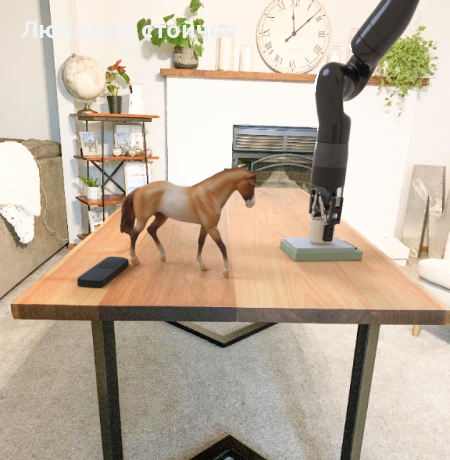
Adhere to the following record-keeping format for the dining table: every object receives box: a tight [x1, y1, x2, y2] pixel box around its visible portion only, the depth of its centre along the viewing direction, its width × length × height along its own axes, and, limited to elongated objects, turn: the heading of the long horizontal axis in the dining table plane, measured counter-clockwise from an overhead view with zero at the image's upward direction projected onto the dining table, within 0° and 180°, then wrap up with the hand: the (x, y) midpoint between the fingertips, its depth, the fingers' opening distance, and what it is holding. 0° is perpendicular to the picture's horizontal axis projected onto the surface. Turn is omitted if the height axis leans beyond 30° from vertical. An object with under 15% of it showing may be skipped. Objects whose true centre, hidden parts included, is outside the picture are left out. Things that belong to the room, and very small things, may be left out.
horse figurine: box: [119, 166, 261, 279], centre depth 87 cm, size 31×8×21 cm, turn 69°
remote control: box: [76, 255, 130, 289], centre depth 85 cm, size 5×2×15 cm
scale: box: [279, 236, 364, 262], centre depth 105 cm, size 16×12×3 cm
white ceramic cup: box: [307, 216, 336, 245], centre depth 104 cm, size 6×6×6 cm
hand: (321, 237), depth 104 cm, fingers open, 7 cm apart
